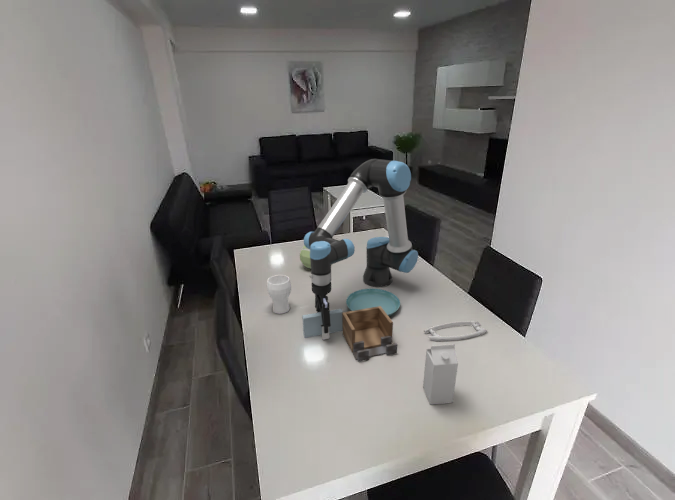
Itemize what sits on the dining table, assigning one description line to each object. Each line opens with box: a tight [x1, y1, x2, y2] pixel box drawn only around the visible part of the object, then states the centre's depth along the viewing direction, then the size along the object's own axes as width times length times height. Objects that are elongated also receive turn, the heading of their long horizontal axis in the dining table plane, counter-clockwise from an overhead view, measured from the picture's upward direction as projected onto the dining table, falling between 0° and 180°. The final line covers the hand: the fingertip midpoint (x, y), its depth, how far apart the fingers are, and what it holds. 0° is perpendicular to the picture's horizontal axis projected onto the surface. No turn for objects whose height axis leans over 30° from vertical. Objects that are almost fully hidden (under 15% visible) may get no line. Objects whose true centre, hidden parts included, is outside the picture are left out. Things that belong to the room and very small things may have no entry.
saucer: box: [345, 287, 401, 317], centre depth 158 cm, size 24×24×3 cm
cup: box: [266, 274, 292, 315], centre depth 156 cm, size 11×11×15 cm
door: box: [301, 308, 344, 339], centre depth 140 cm, size 16×2×9 cm, turn 106°
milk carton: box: [422, 343, 459, 405], centre depth 106 cm, size 7×7×19 cm
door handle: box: [423, 320, 488, 342], centre depth 139 cm, size 3×10×25 cm
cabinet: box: [342, 306, 398, 363], centre depth 133 cm, size 16×18×10 cm
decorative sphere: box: [299, 244, 311, 270], centre depth 197 cm, size 15×15×15 cm
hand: (323, 332), depth 141 cm, fingers open, 8 cm apart
